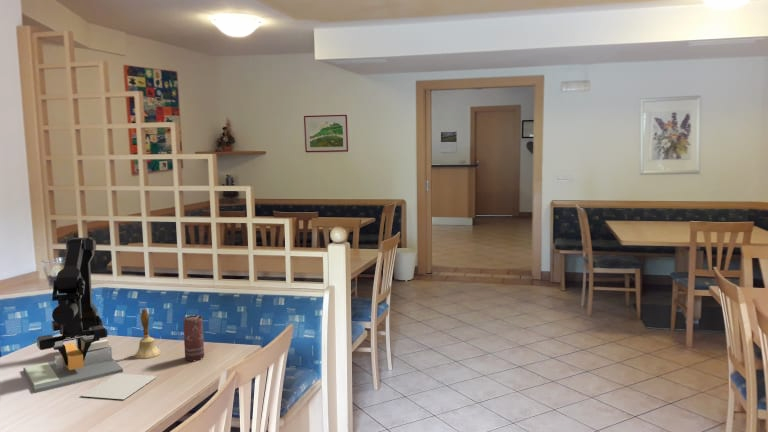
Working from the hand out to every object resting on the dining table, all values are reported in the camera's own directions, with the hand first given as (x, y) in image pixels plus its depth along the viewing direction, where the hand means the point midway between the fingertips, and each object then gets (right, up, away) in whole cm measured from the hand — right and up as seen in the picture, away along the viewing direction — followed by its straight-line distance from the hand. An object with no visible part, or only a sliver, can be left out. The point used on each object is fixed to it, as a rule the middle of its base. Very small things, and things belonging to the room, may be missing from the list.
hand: (74, 363), depth 180 cm
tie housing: (0, -2, +6) cm, 6 cm away
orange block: (-3, 0, +4) cm, 5 cm away
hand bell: (+15, -2, +18) cm, 24 cm away
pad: (-9, -4, -1) cm, 10 cm away
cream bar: (+3, +3, +8) cm, 9 cm away
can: (+33, -2, +14) cm, 36 cm away
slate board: (-2, -3, +3) cm, 5 cm away
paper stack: (+22, -6, -14) cm, 27 cm away
